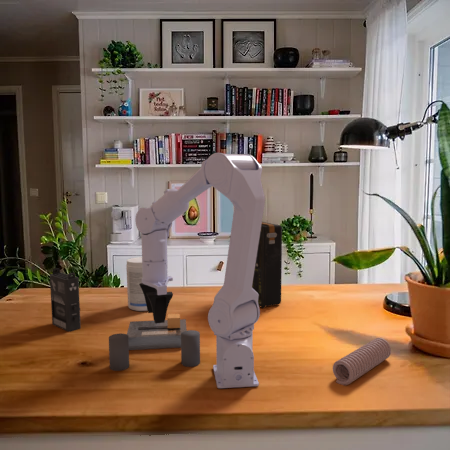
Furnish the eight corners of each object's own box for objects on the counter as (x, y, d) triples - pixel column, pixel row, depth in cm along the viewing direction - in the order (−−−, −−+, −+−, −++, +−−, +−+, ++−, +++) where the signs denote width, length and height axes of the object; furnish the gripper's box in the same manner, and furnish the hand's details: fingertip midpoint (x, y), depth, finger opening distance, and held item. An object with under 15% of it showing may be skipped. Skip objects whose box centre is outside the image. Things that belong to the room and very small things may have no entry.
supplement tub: (165, 308, 133) (164, 260, 131) (136, 314, 128) (134, 264, 126) (150, 300, 141) (149, 255, 139) (122, 306, 135) (121, 258, 134)
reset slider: (180, 328, 107) (180, 317, 107) (167, 328, 107) (167, 318, 106) (180, 323, 110) (179, 313, 110) (167, 324, 110) (167, 314, 109)
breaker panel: (187, 347, 104) (187, 333, 103) (126, 350, 102) (125, 336, 102) (185, 330, 114) (185, 318, 114) (130, 332, 113) (130, 320, 112)
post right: (200, 366, 94) (200, 336, 93) (181, 367, 93) (181, 337, 92) (199, 358, 97) (199, 329, 97) (181, 359, 97) (180, 330, 96)
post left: (128, 370, 92) (127, 340, 91) (108, 371, 91) (107, 341, 91) (130, 362, 96) (129, 333, 95) (111, 363, 95) (110, 333, 95)
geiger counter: (86, 328, 117) (84, 272, 115) (70, 332, 113) (67, 275, 111) (66, 319, 123) (63, 266, 122) (50, 323, 120) (47, 269, 118)
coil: (372, 335, 99) (328, 359, 87) (392, 338, 96) (350, 364, 83) (373, 355, 100) (330, 383, 87) (393, 359, 96) (352, 388, 84)
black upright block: (236, 296, 146) (236, 220, 143) (259, 292, 149) (259, 219, 146) (260, 309, 132) (260, 225, 128) (284, 305, 135) (285, 224, 132)
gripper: (180, 264, 96) (181, 325, 98) (164, 252, 109) (165, 306, 111) (147, 267, 93) (149, 329, 95) (135, 254, 107) (137, 309, 109)
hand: (156, 317), depth 103 cm, fingers open, 7 cm apart
